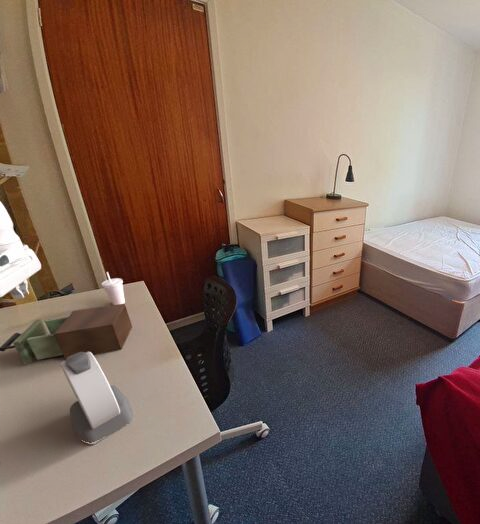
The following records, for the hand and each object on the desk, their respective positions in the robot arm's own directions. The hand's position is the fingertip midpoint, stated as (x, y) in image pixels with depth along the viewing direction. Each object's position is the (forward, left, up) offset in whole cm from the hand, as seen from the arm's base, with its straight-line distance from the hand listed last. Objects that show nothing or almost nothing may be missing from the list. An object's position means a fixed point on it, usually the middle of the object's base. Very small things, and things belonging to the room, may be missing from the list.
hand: (22, 296), depth 81 cm
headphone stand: (+25, -37, -18) cm, 48 cm away
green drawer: (+3, -4, -17) cm, 18 cm away
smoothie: (+13, +22, -18) cm, 31 cm away
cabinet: (+15, -4, -18) cm, 24 cm away
